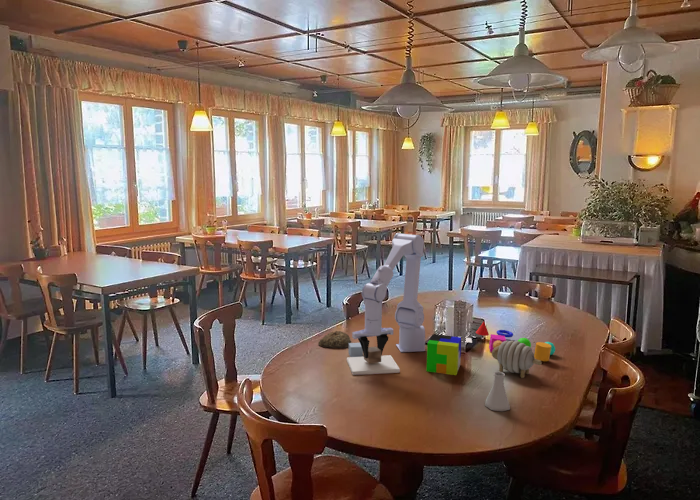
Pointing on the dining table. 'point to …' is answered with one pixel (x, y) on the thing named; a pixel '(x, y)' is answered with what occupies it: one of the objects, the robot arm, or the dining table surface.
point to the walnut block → (373, 355)
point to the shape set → (541, 348)
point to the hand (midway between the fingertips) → (372, 356)
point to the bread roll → (335, 340)
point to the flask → (498, 394)
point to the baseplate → (372, 365)
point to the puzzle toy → (443, 354)
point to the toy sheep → (515, 357)
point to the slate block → (355, 350)
